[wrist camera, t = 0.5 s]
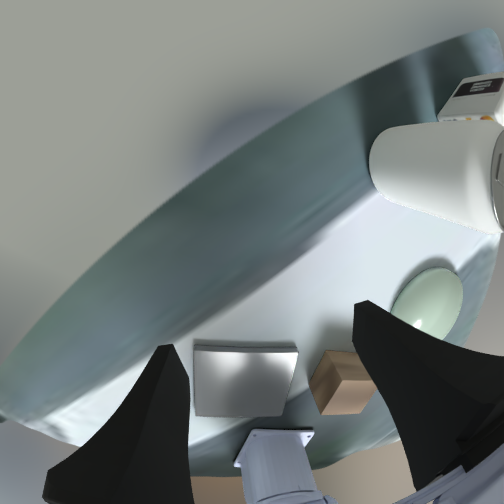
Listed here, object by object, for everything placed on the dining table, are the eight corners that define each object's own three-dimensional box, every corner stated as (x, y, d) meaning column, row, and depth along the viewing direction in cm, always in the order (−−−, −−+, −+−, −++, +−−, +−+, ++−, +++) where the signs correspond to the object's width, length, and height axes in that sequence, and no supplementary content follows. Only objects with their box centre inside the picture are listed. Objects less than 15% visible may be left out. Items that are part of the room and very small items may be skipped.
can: (413, 213, 22) (521, 256, 10) (356, 187, 20) (474, 219, 9) (432, 147, 20) (542, 157, 9) (377, 113, 19) (495, 93, 7)
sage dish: (430, 351, 27) (436, 356, 26) (372, 348, 25) (377, 354, 24) (467, 276, 25) (474, 280, 24) (413, 257, 23) (421, 261, 22)
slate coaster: (280, 410, 27) (281, 416, 26) (195, 410, 25) (195, 416, 25) (296, 347, 24) (298, 352, 23) (194, 344, 23) (193, 350, 22)
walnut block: (344, 384, 27) (359, 413, 23) (308, 383, 26) (320, 414, 22) (362, 352, 26) (382, 380, 21) (325, 349, 25) (342, 380, 21)
